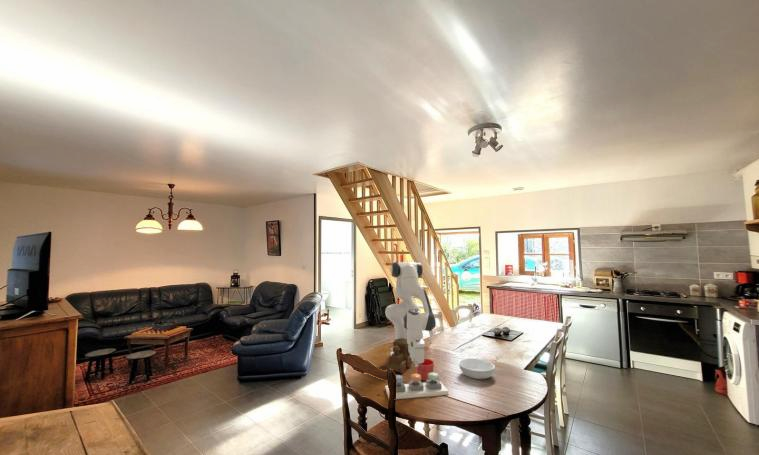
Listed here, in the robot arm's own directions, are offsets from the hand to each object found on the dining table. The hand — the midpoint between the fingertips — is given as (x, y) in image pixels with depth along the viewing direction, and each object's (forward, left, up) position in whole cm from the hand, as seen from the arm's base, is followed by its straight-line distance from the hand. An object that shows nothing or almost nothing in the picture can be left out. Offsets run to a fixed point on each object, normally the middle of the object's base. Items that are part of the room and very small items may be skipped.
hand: (415, 366), depth 166 cm
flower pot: (-16, +10, -14) cm, 24 cm away
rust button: (0, 0, -10) cm, 10 cm away
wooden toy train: (-33, -2, -14) cm, 36 cm away
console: (0, 0, -14) cm, 14 cm away
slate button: (0, -10, -10) cm, 14 cm away
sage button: (0, +10, -10) cm, 14 cm away
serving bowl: (-14, +42, -14) cm, 46 cm away
